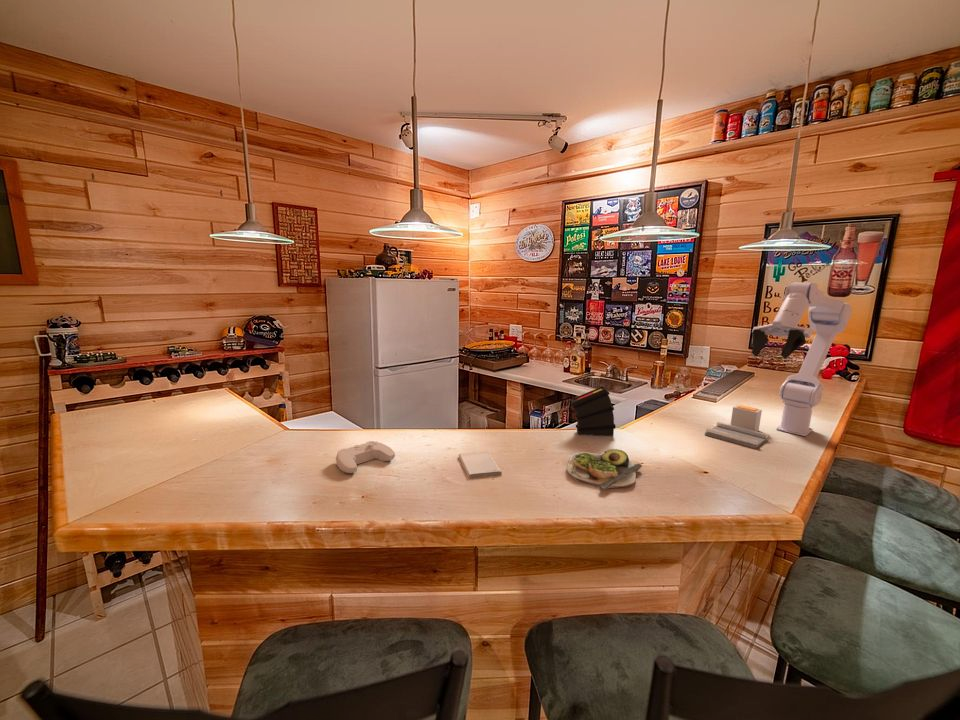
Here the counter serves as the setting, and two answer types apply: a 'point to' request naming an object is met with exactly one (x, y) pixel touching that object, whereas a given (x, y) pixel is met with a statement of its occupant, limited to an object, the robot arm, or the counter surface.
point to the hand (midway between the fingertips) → (768, 355)
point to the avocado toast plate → (604, 468)
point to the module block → (746, 417)
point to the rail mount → (737, 435)
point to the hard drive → (479, 464)
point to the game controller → (362, 455)
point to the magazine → (594, 413)
